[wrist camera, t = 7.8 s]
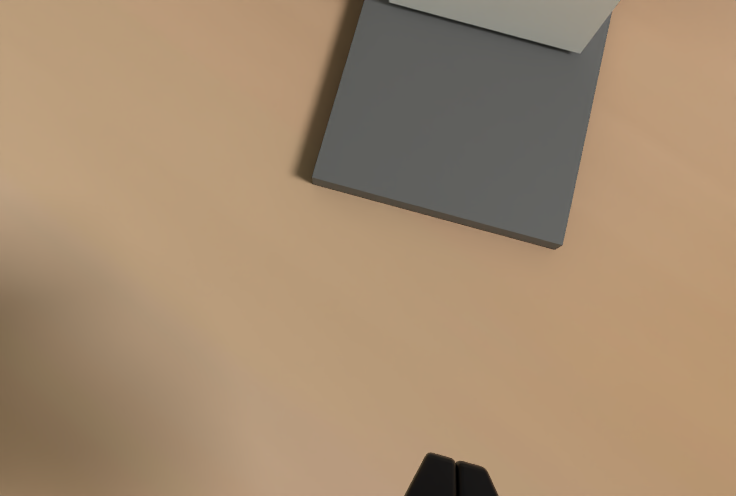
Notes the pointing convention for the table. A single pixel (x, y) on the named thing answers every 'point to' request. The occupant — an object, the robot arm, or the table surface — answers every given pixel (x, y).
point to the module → (527, 17)
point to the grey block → (461, 122)
